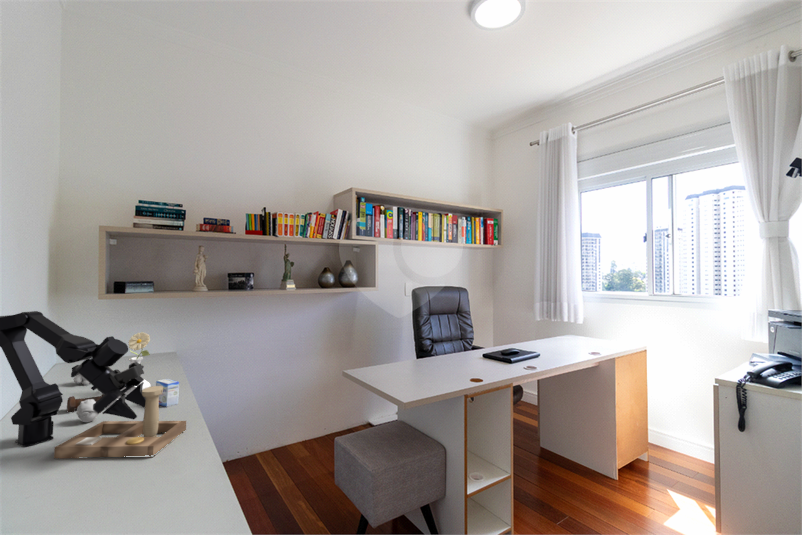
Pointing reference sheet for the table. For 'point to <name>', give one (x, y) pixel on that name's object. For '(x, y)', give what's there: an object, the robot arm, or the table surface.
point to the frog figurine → (86, 411)
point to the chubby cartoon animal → (80, 379)
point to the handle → (151, 410)
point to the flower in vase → (136, 343)
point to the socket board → (118, 440)
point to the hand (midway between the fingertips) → (142, 412)
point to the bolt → (78, 402)
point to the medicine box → (168, 392)
